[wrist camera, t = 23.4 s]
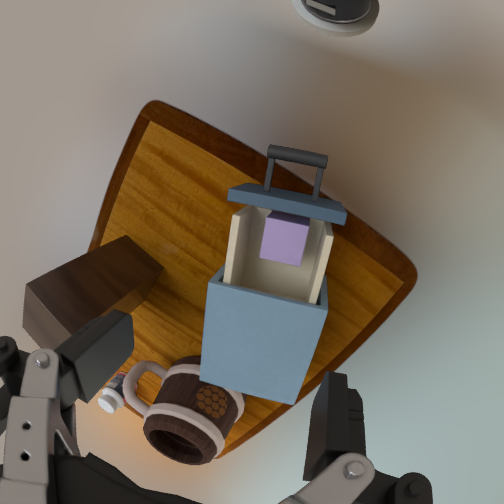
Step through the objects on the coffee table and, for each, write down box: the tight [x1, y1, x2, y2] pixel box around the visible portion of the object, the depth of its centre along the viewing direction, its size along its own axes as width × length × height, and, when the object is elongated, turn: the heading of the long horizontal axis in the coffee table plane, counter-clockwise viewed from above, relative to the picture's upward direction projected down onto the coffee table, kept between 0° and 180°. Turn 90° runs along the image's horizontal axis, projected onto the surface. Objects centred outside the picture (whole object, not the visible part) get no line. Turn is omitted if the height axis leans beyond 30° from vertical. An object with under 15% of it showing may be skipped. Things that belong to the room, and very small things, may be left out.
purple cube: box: [259, 210, 310, 267], centre depth 32 cm, size 4×4×4 cm
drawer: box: [223, 144, 347, 305], centre depth 32 cm, size 18×11×8 cm, turn 171°
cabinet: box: [199, 263, 328, 405], centre depth 36 cm, size 15×13×10 cm
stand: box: [23, 235, 163, 350], centre depth 34 cm, size 8×8×20 cm
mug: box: [123, 357, 247, 465], centre depth 41 cm, size 20×15×15 cm
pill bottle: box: [98, 372, 137, 413], centre depth 49 cm, size 5×5×9 cm
